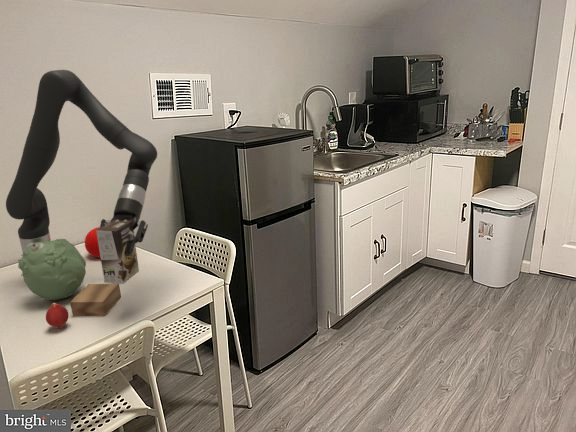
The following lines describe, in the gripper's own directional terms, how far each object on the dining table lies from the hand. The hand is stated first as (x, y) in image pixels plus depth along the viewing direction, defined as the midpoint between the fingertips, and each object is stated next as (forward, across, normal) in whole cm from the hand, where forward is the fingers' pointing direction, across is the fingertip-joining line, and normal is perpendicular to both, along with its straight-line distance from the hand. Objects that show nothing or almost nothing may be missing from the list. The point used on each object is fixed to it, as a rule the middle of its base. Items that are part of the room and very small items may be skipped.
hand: (115, 254), depth 133 cm
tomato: (-17, -33, +45) cm, 58 cm away
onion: (+20, -16, +8) cm, 27 cm away
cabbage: (+8, -28, +20) cm, 35 cm away
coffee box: (+5, 0, +7) cm, 8 cm away
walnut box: (+11, -12, +17) cm, 24 cm away
